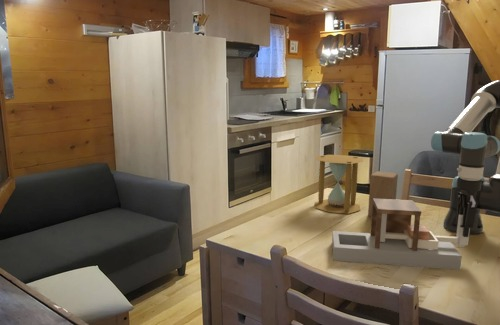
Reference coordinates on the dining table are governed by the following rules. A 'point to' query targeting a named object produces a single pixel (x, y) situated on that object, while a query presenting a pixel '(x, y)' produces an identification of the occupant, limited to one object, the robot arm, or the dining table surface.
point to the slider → (423, 244)
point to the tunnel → (395, 218)
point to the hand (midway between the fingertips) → (461, 242)
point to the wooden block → (382, 187)
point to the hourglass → (337, 197)
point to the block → (422, 232)
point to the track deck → (392, 252)
